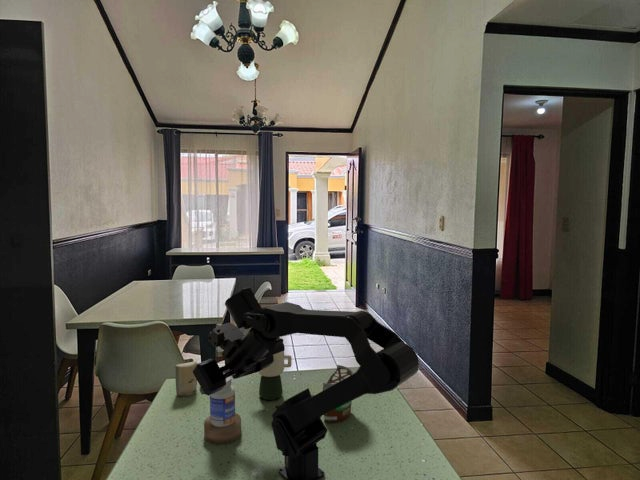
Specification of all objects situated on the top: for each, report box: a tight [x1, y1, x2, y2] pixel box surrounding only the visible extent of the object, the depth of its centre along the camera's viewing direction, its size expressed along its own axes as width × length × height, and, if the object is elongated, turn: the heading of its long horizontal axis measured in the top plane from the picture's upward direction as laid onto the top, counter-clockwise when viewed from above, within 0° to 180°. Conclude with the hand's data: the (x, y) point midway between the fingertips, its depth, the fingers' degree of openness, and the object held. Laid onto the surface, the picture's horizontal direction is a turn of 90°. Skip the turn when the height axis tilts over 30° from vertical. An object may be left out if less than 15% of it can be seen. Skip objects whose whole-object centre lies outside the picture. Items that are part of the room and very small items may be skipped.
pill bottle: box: [209, 376, 236, 427], centre depth 92 cm, size 5×5×10 cm
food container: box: [322, 364, 355, 424], centre depth 101 cm, size 12×6×10 cm, turn 161°
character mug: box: [257, 350, 293, 401], centre depth 110 cm, size 11×7×13 cm, turn 90°
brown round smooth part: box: [203, 412, 242, 445], centre depth 93 cm, size 8×8×3 cm
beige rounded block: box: [175, 361, 198, 397], centre depth 112 cm, size 6×5×8 cm
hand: (217, 384), depth 92 cm, fingers open, 9 cm apart
